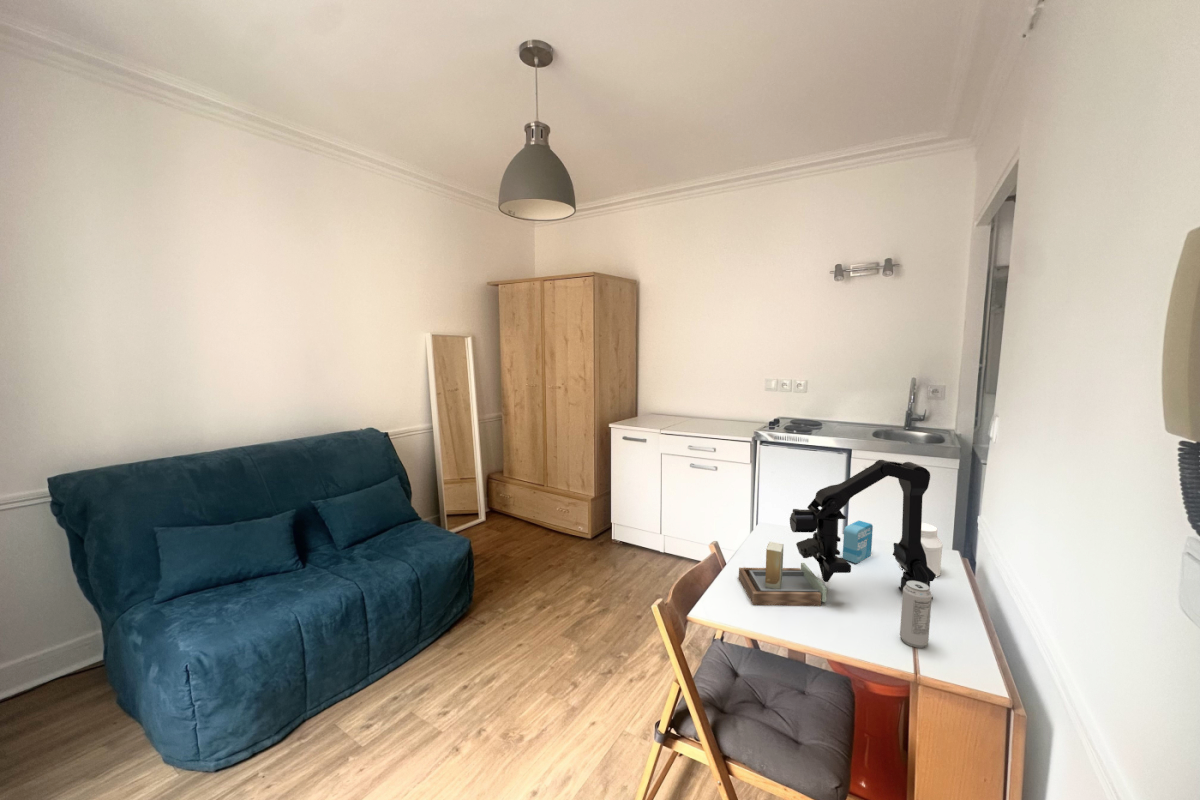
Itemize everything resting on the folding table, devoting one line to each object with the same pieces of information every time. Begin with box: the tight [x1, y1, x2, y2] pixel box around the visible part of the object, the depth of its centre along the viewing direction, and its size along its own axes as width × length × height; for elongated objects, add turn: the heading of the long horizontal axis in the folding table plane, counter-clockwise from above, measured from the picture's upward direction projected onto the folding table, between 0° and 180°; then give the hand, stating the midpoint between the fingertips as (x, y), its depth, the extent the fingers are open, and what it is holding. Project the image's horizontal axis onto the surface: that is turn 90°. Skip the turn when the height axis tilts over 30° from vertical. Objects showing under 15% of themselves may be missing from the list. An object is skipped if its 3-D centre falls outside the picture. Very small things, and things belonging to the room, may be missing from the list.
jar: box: [898, 522, 944, 578], centre depth 160 cm, size 12×10×15 cm
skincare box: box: [765, 541, 785, 589], centre depth 146 cm, size 6×4×12 cm
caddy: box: [738, 567, 822, 607], centre depth 147 cm, size 19×16×4 cm
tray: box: [749, 562, 827, 603], centre depth 147 cm, size 18×16×4 cm
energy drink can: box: [899, 581, 933, 649], centre depth 121 cm, size 6×6×15 cm
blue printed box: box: [842, 520, 874, 564], centre depth 169 cm, size 12×4×12 cm, turn 128°
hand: (825, 581), depth 147 cm, fingers closed
